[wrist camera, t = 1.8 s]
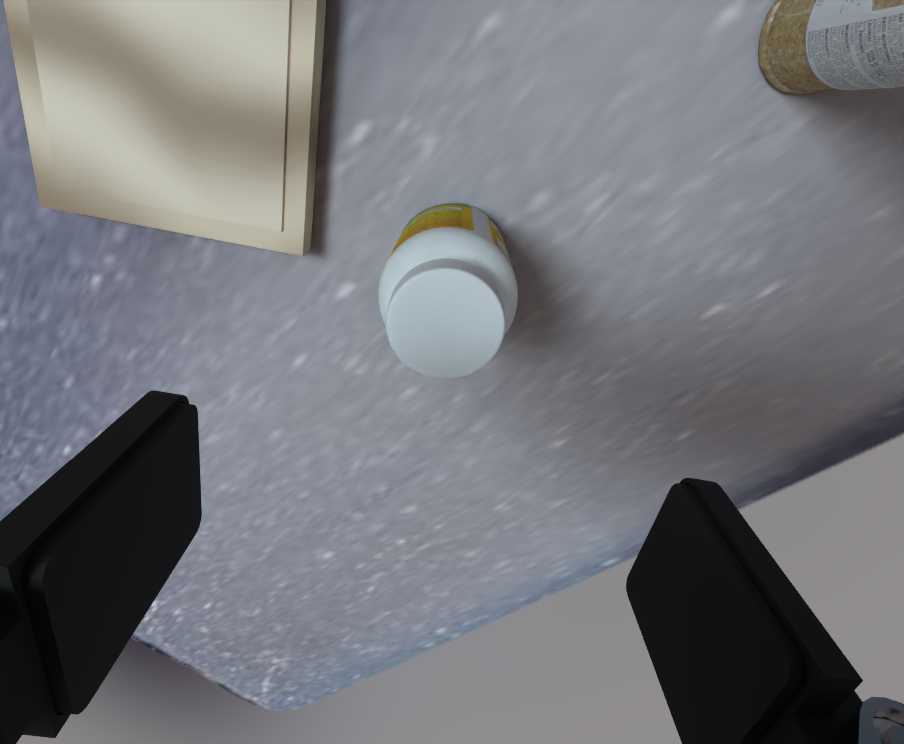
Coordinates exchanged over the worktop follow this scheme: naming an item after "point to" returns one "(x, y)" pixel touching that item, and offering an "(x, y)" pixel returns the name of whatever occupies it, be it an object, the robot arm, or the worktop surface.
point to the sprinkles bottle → (833, 45)
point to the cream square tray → (175, 112)
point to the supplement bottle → (448, 292)
